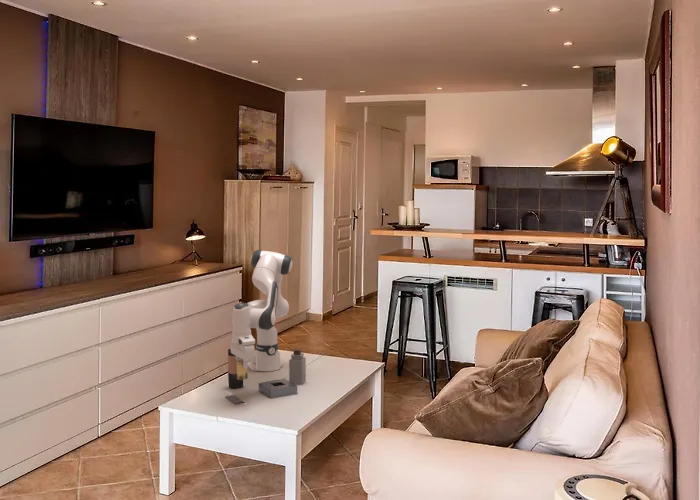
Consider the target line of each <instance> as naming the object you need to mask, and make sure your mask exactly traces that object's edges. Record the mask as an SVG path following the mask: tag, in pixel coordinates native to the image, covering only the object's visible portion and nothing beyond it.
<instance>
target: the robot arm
mask: <svg viewBox="0 0 700 500" xmlns="http://www.w3.org/2000/svg"><path fill="white" fill-rule="evenodd" d="M250 266H251V267H252V268H253V269H254V270H253V273H252V277H251V280H252V284H253V286H254V287H256V289H257V290H259V291H261V293H263V295H266V296H267V298H265V299H256V300H255V299H254V300H252V301H249V302H247V303H246V302H240V303H236V304H235V305H234V306H233V307H232V308H233V309H232V315H231V316H232V318H231V324H232V331H231V334H232V335H231V336H232V337H231V338H232V339H231V340H230V349H231V353H232V354H234V355H236V360H237V361H241V359H243V361H244V362H243V364H242V366H243V368H244V369H245V368H247V367H248V368H249V369H250V370H251V371H253V372H256V371H257V372H258V371H259V372H273V371H278V370H280V369H281V368H282V367H284V365H283V363H282V362H281V361H282V360H281V359H282V358H281V352H280V351H279V343H278V329H277V328H276V327H275V325H276V321H277V319H280V318H283V317H285V316H287V315H288V314H289V310H290V305H289V302H288V300H286V299H285V298H284V297H283V295H282V291H281V290H282V281H283V276H284V275H288V274H290V272H291V270H292V269H293V258H292V257H291V256H290V255H288V254H283V253H280V252H276V251H268V250H262V249H256V250H255V251H253V252H252V254H251V256H250ZM251 329H256V339H257V341H256V339H255V338H254V336H253V335H252V330H251Z"/></svg>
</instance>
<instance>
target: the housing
mask: <svg viewBox="0 0 700 500" xmlns="http://www.w3.org/2000/svg"><path fill="white" fill-rule="evenodd" d="M258 392H260V393H262V394H263V395H265V396H267V397H268V398H269V399H275V398H279V397H287V396H291V395H298V384H293V383H292V382H290V381H289V379H286V378H280V379H273V380H268V381H261V382H258Z"/></svg>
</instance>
